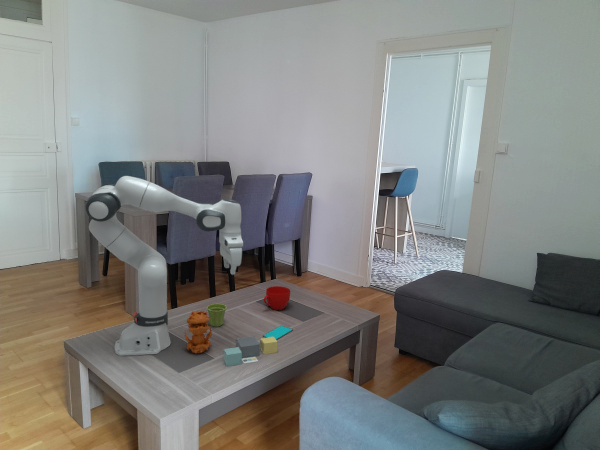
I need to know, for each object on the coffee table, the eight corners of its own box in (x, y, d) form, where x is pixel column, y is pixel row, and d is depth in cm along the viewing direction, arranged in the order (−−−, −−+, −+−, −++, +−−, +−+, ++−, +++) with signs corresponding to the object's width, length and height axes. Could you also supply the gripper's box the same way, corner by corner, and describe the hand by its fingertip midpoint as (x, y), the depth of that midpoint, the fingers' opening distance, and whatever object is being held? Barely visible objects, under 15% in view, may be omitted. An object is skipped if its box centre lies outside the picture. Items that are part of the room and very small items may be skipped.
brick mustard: (263, 354, 184) (264, 343, 183) (259, 349, 189) (260, 338, 188) (277, 352, 187) (277, 341, 186) (273, 347, 191) (273, 336, 190)
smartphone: (293, 329, 210) (275, 340, 197) (293, 330, 210) (275, 341, 197) (281, 325, 213) (262, 335, 201) (280, 326, 214) (262, 337, 201)
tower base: (240, 358, 180) (241, 347, 179) (235, 349, 187) (236, 338, 186) (259, 355, 183) (259, 344, 182) (253, 347, 190) (254, 336, 189)
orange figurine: (187, 358, 178) (187, 316, 174) (182, 346, 187) (182, 306, 184) (214, 354, 182) (215, 313, 179) (208, 342, 192) (209, 303, 189)
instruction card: (243, 363, 176) (243, 363, 176) (241, 358, 180) (241, 358, 179) (258, 361, 178) (258, 360, 178) (255, 356, 182) (255, 356, 182)
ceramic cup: (255, 309, 233) (255, 291, 231) (277, 301, 245) (277, 284, 244) (272, 316, 224) (273, 297, 223) (294, 308, 237) (295, 290, 235)
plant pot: (208, 329, 205) (209, 311, 204) (204, 321, 214) (204, 304, 212) (228, 326, 209) (228, 309, 208) (223, 319, 218) (223, 302, 216)
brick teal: (226, 366, 173) (227, 354, 172) (223, 360, 178) (223, 349, 177) (241, 364, 176) (241, 352, 175) (238, 358, 180) (238, 347, 179)
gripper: (216, 233, 189) (216, 264, 192) (229, 244, 171) (228, 278, 174) (230, 232, 192) (230, 263, 194) (244, 243, 174) (244, 277, 176)
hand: (229, 270), depth 184 cm, fingers open, 8 cm apart
